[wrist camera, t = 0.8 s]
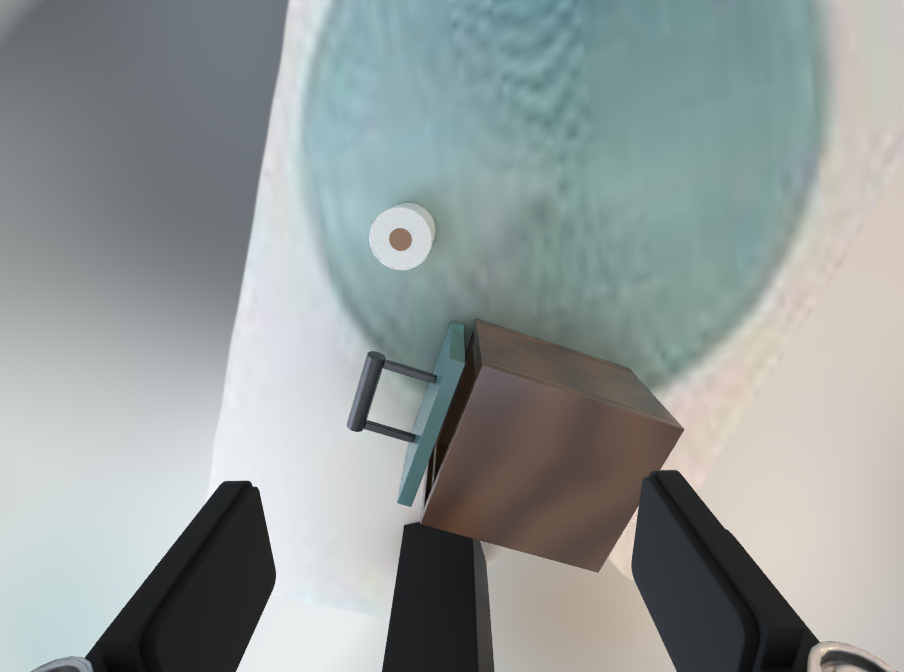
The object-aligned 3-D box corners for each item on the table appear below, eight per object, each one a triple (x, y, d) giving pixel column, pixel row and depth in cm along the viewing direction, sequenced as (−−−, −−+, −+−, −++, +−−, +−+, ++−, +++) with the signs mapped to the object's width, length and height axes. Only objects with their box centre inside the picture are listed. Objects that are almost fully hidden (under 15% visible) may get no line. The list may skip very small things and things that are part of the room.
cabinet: (428, 447, 45) (419, 524, 35) (476, 318, 40) (482, 365, 30) (567, 487, 47) (598, 573, 37) (630, 368, 42) (685, 429, 32)
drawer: (350, 424, 43) (325, 483, 35) (387, 299, 39) (368, 332, 30) (542, 480, 45) (562, 548, 37) (598, 367, 41) (634, 416, 32)
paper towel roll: (390, 194, 37) (378, 198, 31) (442, 213, 37) (440, 219, 31) (376, 247, 38) (362, 259, 32) (426, 264, 39) (421, 278, 33)
